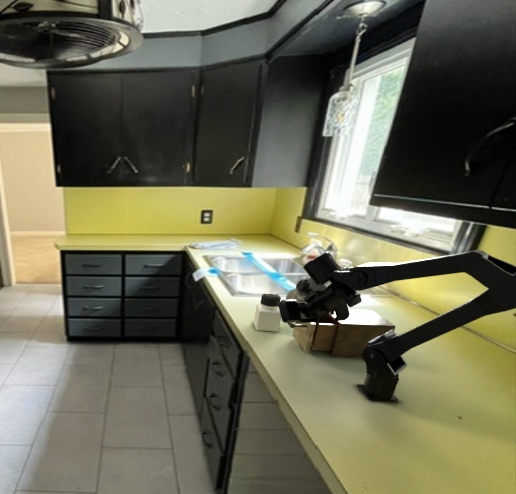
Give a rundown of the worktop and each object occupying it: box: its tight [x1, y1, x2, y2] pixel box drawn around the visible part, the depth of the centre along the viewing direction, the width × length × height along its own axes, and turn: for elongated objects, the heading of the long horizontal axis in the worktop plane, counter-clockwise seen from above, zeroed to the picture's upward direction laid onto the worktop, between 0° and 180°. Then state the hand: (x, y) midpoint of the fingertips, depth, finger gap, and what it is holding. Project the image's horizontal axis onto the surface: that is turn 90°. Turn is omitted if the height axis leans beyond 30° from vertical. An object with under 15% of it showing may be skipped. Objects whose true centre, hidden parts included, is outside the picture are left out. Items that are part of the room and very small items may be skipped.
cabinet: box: [326, 308, 397, 359], centre depth 110 cm, size 15×13×11 cm
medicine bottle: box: [253, 292, 282, 333], centre depth 124 cm, size 7×7×12 cm
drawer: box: [286, 317, 339, 353], centre depth 111 cm, size 18×11×9 cm, turn 84°
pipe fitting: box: [285, 287, 307, 304], centre depth 139 cm, size 12×8×10 cm
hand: (296, 321), depth 108 cm, fingers closed
